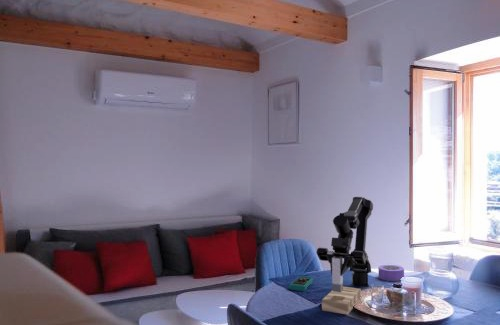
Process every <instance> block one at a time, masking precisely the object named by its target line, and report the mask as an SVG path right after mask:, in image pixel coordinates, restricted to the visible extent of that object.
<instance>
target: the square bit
mask: <svg viewBox="0 0 500 325" xmlns="http://www.w3.org/2000/svg"><path fill="white" fill-rule="evenodd" d="M343 262H344V258H343V257H338V256H334V257H333V258H332V274H331V276H332V277H331V278H332V279H331V281H332V282H331V283H332V290H333V291H334V292H342V291H343V287H344V274H343V275H342V276H341V275H340V273H341V269H342V265H343Z"/></svg>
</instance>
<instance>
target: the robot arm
mask: <svg viewBox="0 0 500 325" xmlns="http://www.w3.org/2000/svg"><path fill="white" fill-rule="evenodd" d="M373 208H374V204H373V202H372V200H370V199H368V198H366V197H363V196H353V197H352V202H351V203H350V206H349V207H348V209H347V211H345V212H340V213H339V214H338V215H336V216H335V217H334V218H333V219H332V223H333V225H334V228H335V231H336V233H338V235H337V237H332V238H331V244H330V246H331V247H332V250H329V249H328V248H326V247H318V248H317V249H316V255H317V257H318V259H319V260H320V261H324V262H328V263H329V265H330V273H331V275H332V258H333V257H334V256H338V257H343V265H342V269H341V273H340V275H341V276H342V275H343V276H344V274H345V273H346V272H347V271H348V270H349V272H352V273H351V283H352V285H353V286H354V287H370V285H369V273H372V267H371V263H370V260H369V256H368V254H367V252H366V244H367V241H366V240H367V229H368V228H367V227H368V219H369V218H370V217H371V215H372V211H373V210H374V209H373ZM353 230H356V231H355V244H354V249H353V250H352V246H351V245H352V240H353V238H354V231H353ZM351 250H352V251H351ZM350 251H351V252H350Z"/></svg>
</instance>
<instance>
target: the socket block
mask: <svg viewBox="0 0 500 325" xmlns="http://www.w3.org/2000/svg"><path fill="white" fill-rule="evenodd" d="M360 297H361V298H362V288H356V287H349V286H343V291H342V292H334V291H333V289H332V290H331V291H330V292H329V293H328V294H327V295H325V296H324V297H323V298H322V299H321V311H324V312H330V313H336V314H341V315H342V314H343V315H349V314H350V312H351V311H353V309H354V308H353V306H354V304H355V303H356V302H357V301H358V300H359V299H360ZM360 300H361V299H360ZM360 300H359V301H360ZM354 307H355V306H354Z"/></svg>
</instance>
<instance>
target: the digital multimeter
mask: <svg viewBox="0 0 500 325" xmlns="http://www.w3.org/2000/svg"><path fill="white" fill-rule="evenodd" d="M313 283H314V278H312V277H311V276H302V275H301V276H298V277H297V278H295V279H294V280H293V281H292V282H291V283H290V284H289V285H288V289H289V290H290V289H291V291H300V292H305V291H306V290H307V289H308V288H309V287H308V286H309V285H310V284H311V285H312V284H313ZM311 285H310V286H311ZM307 287H308V288H307Z"/></svg>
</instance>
